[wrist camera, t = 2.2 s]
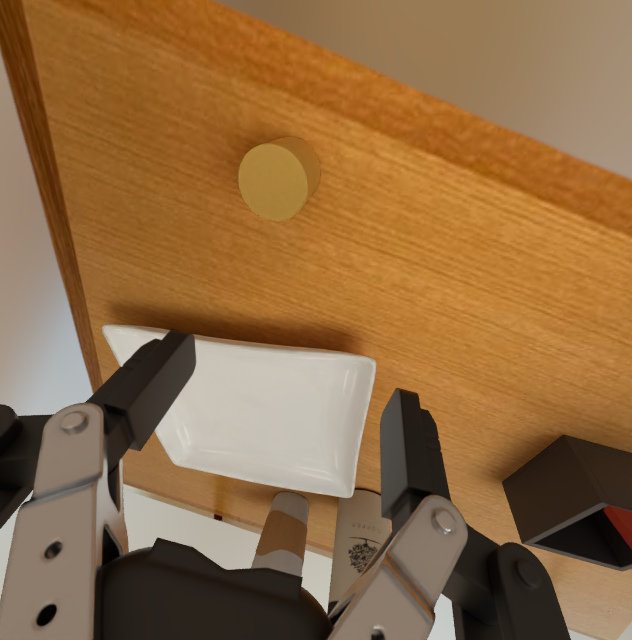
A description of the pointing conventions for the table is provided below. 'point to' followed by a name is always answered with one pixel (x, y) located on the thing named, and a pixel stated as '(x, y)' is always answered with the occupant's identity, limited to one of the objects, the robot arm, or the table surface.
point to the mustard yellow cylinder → (279, 177)
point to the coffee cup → (284, 535)
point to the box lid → (621, 522)
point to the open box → (573, 501)
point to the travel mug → (355, 540)
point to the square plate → (264, 411)
